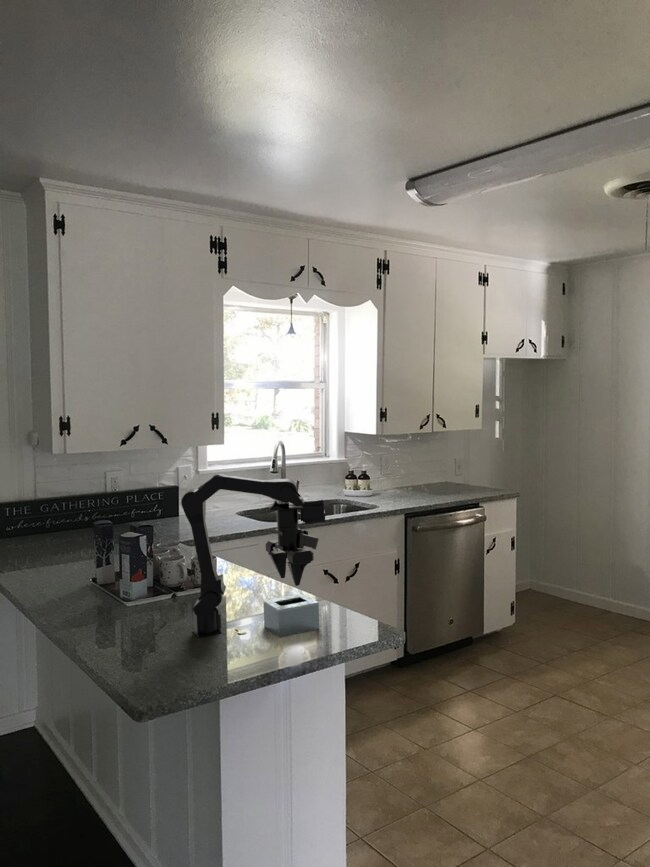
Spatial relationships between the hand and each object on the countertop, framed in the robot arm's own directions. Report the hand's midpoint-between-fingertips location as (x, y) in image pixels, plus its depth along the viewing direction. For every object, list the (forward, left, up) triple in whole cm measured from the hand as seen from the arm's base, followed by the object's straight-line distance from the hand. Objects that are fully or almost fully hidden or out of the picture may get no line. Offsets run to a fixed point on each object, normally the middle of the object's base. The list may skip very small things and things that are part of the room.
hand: (290, 581), depth 201 cm
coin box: (0, 0, -13) cm, 13 cm away
